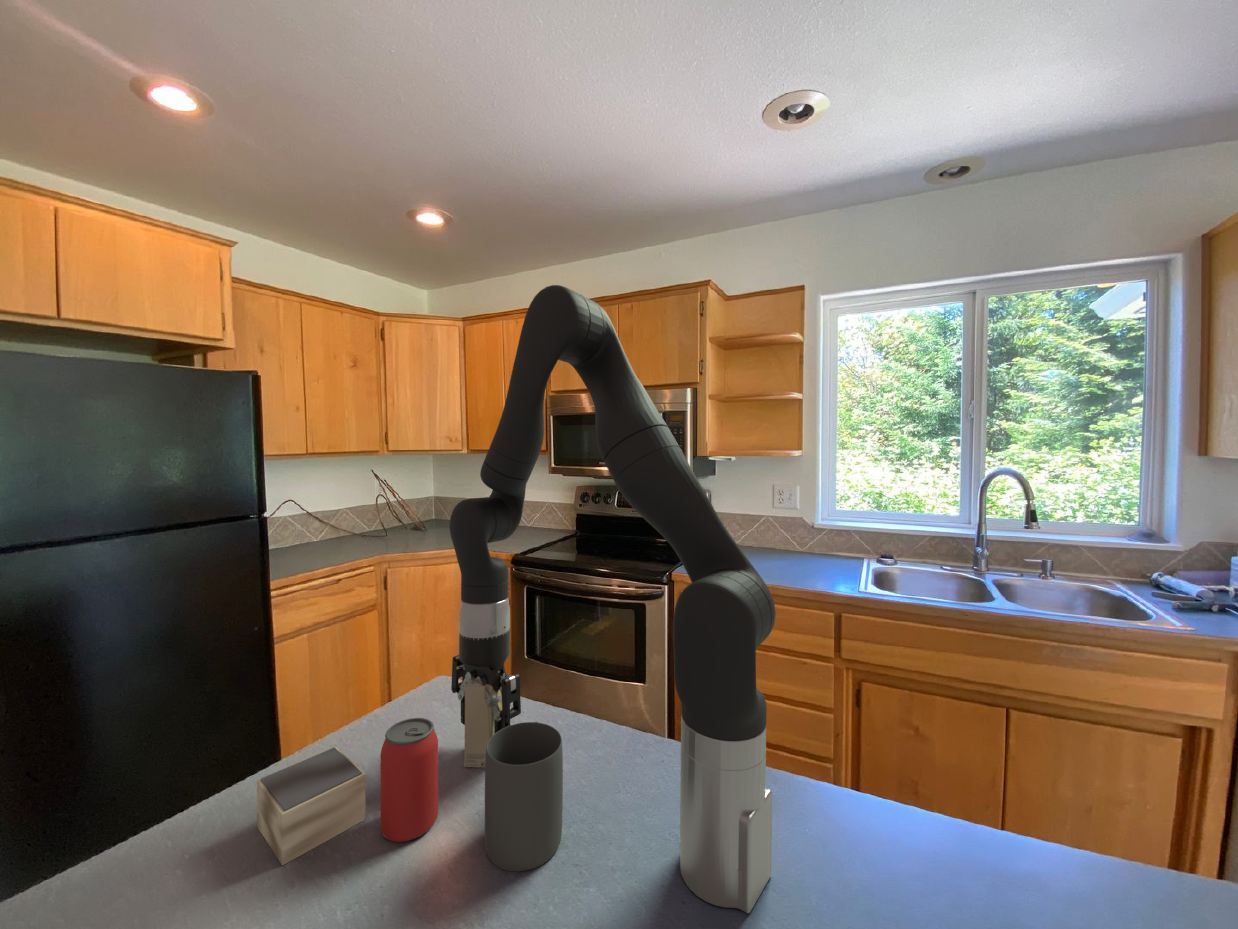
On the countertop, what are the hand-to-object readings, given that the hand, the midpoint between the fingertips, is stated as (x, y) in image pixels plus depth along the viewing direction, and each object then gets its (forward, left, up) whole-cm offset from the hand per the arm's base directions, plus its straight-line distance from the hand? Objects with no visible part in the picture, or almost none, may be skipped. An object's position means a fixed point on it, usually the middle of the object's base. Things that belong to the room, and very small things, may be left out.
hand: (484, 732), depth 75 cm
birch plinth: (+5, +22, -4) cm, 23 cm away
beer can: (-5, +14, -4) cm, 16 cm away
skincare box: (0, 0, -4) cm, 4 cm away
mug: (-16, +5, -4) cm, 18 cm away
